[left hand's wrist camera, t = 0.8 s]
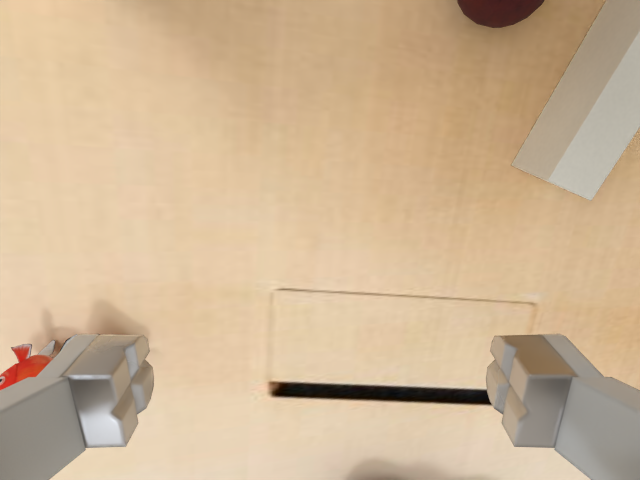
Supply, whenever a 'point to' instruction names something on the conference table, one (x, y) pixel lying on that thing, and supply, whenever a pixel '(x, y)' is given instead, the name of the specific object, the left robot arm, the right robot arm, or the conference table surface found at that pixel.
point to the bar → (590, 106)
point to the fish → (28, 363)
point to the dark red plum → (498, 11)
